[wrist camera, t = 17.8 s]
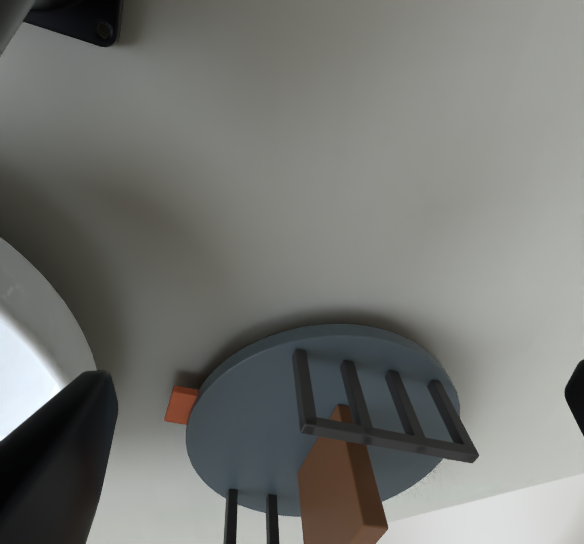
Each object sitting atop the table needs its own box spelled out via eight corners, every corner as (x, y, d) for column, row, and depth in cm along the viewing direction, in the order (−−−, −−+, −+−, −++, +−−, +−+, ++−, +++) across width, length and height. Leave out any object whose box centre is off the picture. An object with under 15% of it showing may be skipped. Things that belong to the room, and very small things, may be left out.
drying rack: (506, 359, 23) (601, 485, 17) (380, 514, 31) (413, 642, 24) (205, 283, 19) (180, 412, 13) (144, 483, 26) (109, 628, 20)
